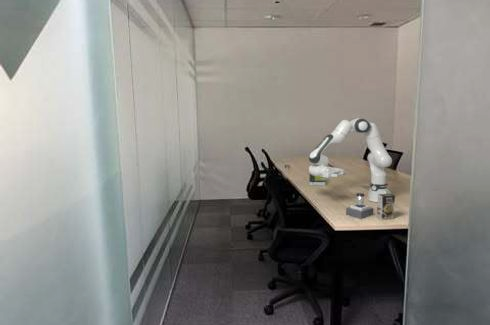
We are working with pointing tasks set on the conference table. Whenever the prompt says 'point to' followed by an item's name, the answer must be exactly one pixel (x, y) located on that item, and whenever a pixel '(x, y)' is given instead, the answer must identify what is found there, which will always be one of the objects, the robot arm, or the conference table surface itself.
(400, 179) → the conference table surface
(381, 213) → the coffee box
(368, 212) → the grey white square holder
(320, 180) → the tea box
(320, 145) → the robot arm
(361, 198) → the glass jar
